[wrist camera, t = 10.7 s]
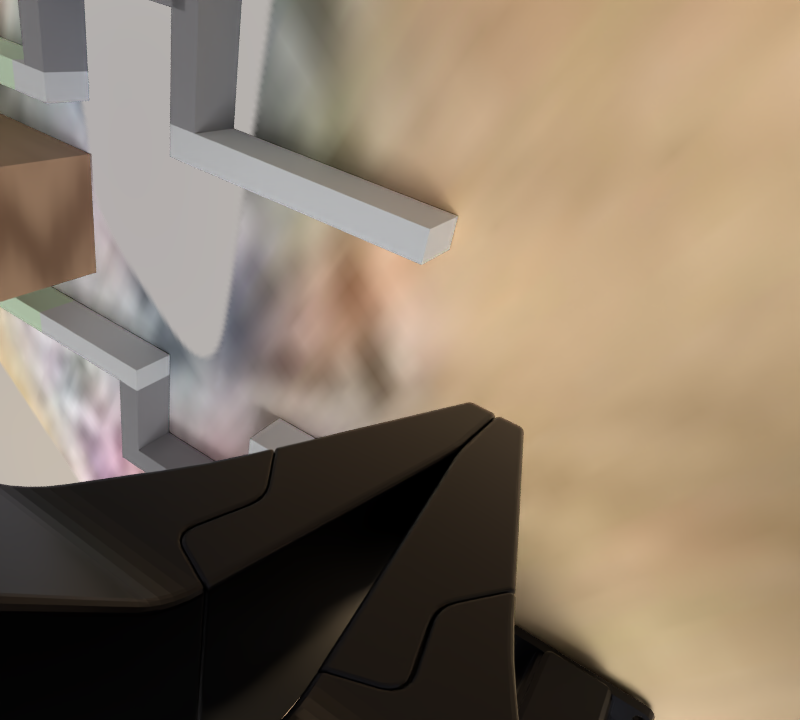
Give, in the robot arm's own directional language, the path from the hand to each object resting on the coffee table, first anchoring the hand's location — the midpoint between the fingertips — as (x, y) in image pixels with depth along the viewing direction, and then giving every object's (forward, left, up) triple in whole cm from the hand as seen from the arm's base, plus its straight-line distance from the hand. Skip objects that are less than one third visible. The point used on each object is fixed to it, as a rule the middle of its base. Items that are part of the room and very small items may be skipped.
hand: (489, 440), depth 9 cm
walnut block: (-8, +28, -12) cm, 31 cm away
